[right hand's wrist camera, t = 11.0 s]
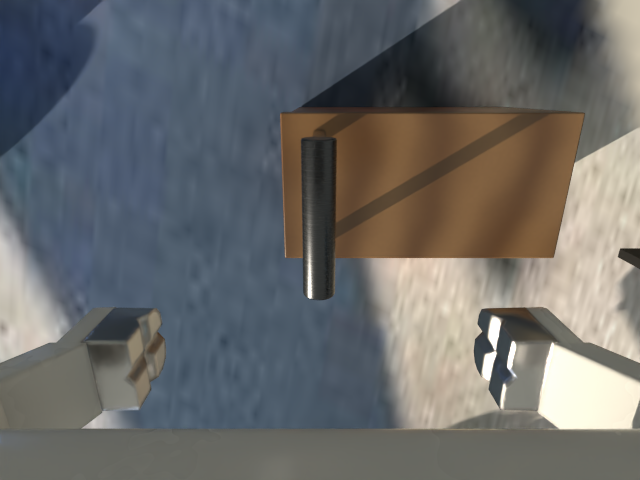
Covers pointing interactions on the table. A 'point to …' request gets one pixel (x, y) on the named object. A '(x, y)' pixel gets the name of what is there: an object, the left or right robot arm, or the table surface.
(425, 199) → the lid
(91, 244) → the table surface
